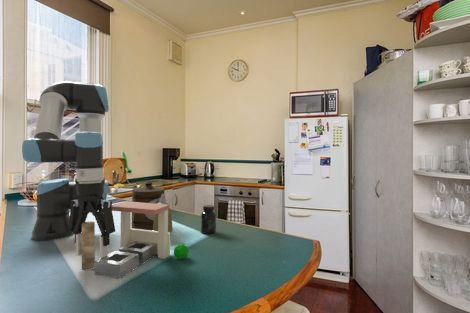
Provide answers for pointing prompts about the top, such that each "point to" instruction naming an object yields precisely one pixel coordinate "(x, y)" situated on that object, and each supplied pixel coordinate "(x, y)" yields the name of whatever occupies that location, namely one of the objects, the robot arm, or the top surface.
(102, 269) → the socket
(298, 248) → the top surface
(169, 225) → the squeeze bottle
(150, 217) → the wooden container
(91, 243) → the peg
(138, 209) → the pink-topped stool
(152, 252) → the inner socket
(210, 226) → the supplement bottle
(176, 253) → the polyhedron
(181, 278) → the top surface
